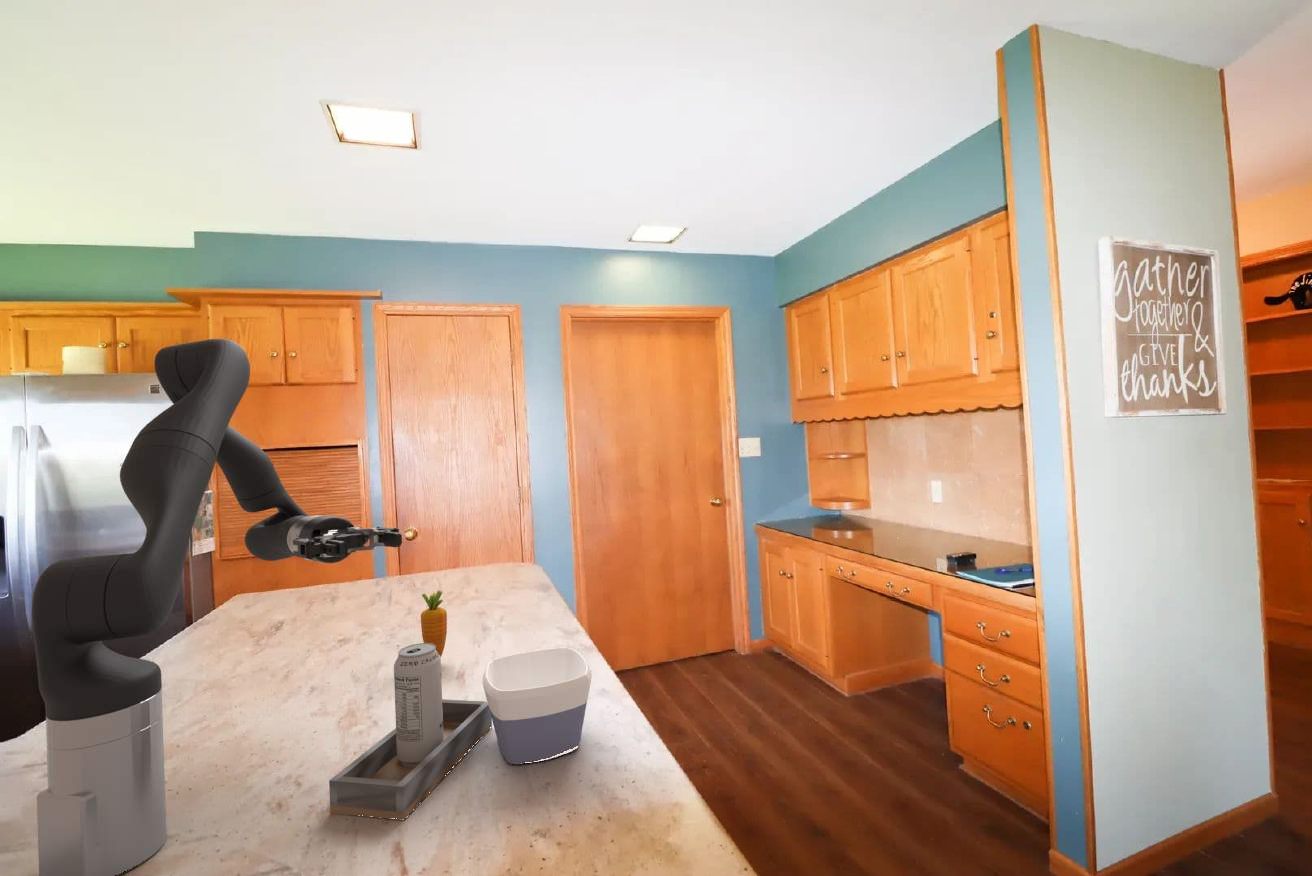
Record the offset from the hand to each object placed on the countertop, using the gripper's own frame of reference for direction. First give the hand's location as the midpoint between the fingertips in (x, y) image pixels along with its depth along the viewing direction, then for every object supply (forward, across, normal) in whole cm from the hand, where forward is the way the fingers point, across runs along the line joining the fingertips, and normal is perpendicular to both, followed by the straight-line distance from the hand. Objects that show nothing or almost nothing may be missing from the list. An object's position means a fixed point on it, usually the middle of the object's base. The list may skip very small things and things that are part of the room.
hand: (372, 544), depth 86 cm
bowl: (+20, +13, +30) cm, 39 cm away
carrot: (-21, +23, +30) cm, 43 cm away
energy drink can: (+11, 0, +29) cm, 31 cm away
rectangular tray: (+11, 0, +30) cm, 32 cm away
